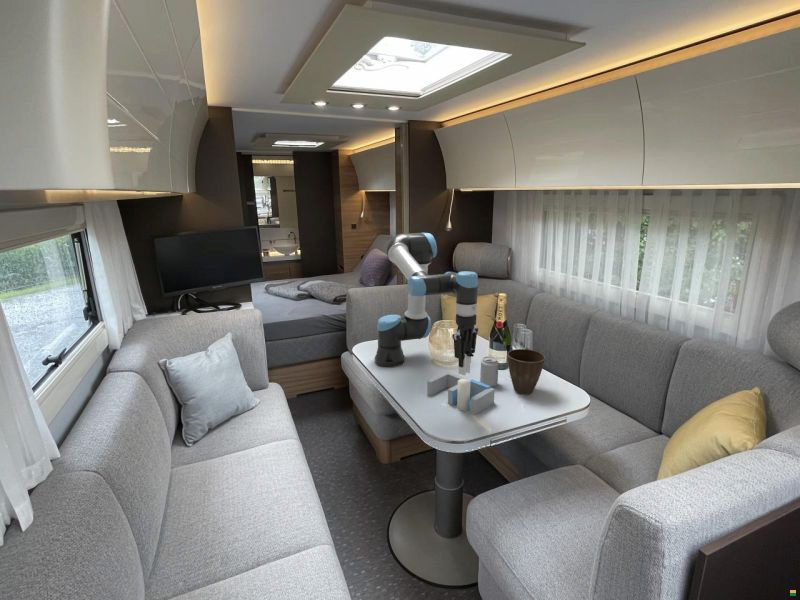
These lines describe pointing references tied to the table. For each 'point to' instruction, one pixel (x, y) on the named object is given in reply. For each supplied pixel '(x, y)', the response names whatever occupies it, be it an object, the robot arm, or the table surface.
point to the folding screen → (478, 391)
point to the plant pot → (525, 369)
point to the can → (489, 371)
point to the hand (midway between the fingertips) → (464, 373)
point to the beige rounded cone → (463, 394)
